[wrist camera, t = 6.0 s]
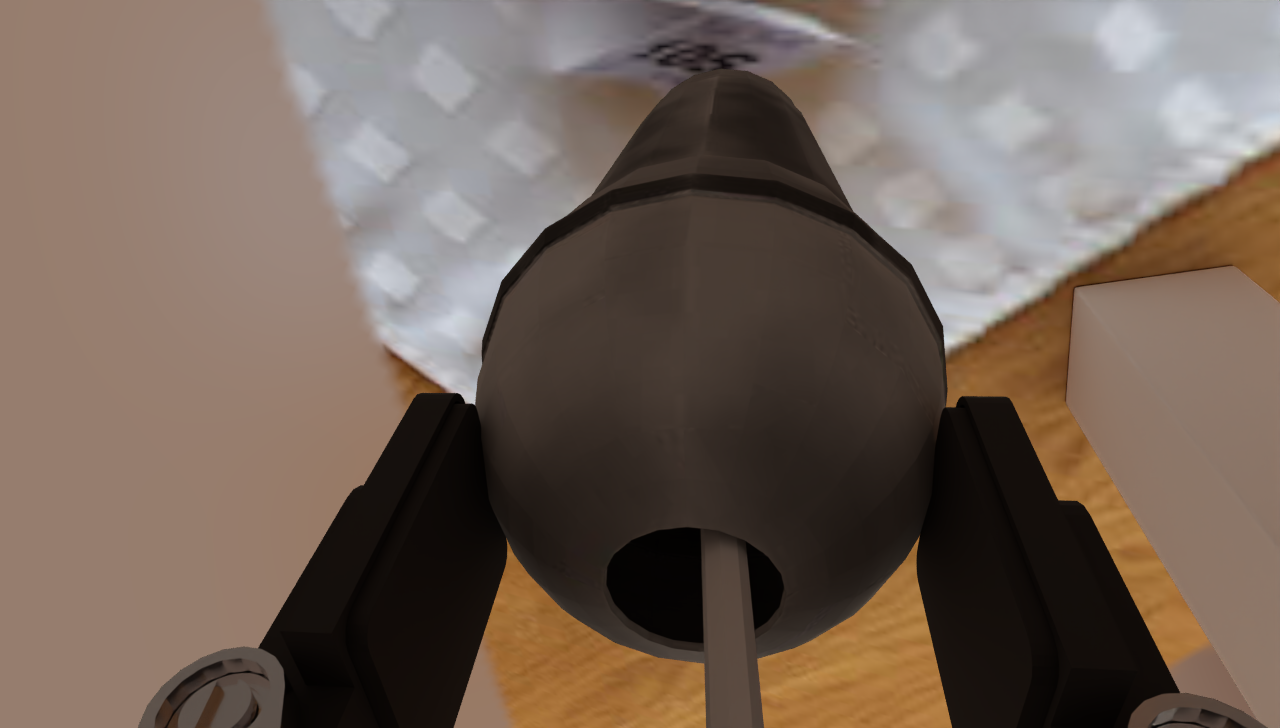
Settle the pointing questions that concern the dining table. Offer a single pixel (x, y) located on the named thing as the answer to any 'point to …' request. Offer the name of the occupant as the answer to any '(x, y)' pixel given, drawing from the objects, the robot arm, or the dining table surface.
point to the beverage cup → (712, 394)
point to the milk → (1194, 446)
